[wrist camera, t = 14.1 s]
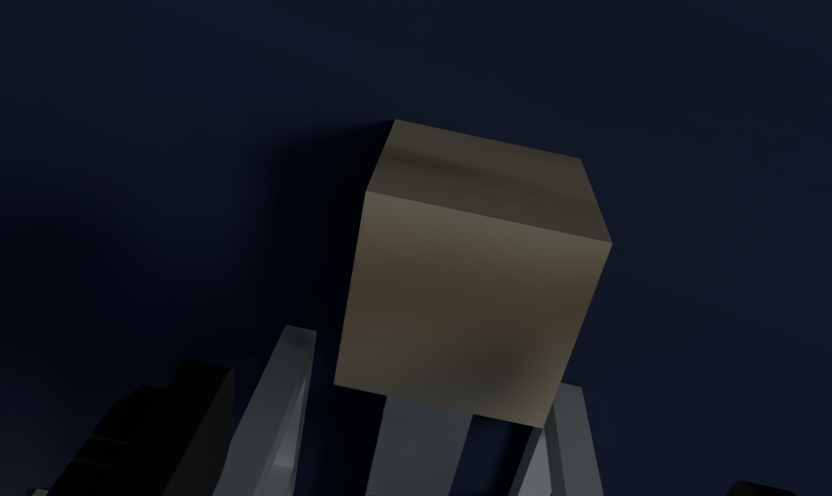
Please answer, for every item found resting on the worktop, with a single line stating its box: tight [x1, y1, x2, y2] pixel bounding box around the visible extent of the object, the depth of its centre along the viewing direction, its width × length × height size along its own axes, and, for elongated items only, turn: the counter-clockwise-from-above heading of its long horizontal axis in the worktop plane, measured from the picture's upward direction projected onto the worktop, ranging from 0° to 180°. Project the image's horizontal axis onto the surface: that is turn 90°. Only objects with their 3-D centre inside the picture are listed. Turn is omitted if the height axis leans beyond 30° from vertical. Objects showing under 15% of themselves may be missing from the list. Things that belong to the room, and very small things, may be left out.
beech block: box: [334, 119, 612, 428], centre depth 16 cm, size 5×5×5 cm
